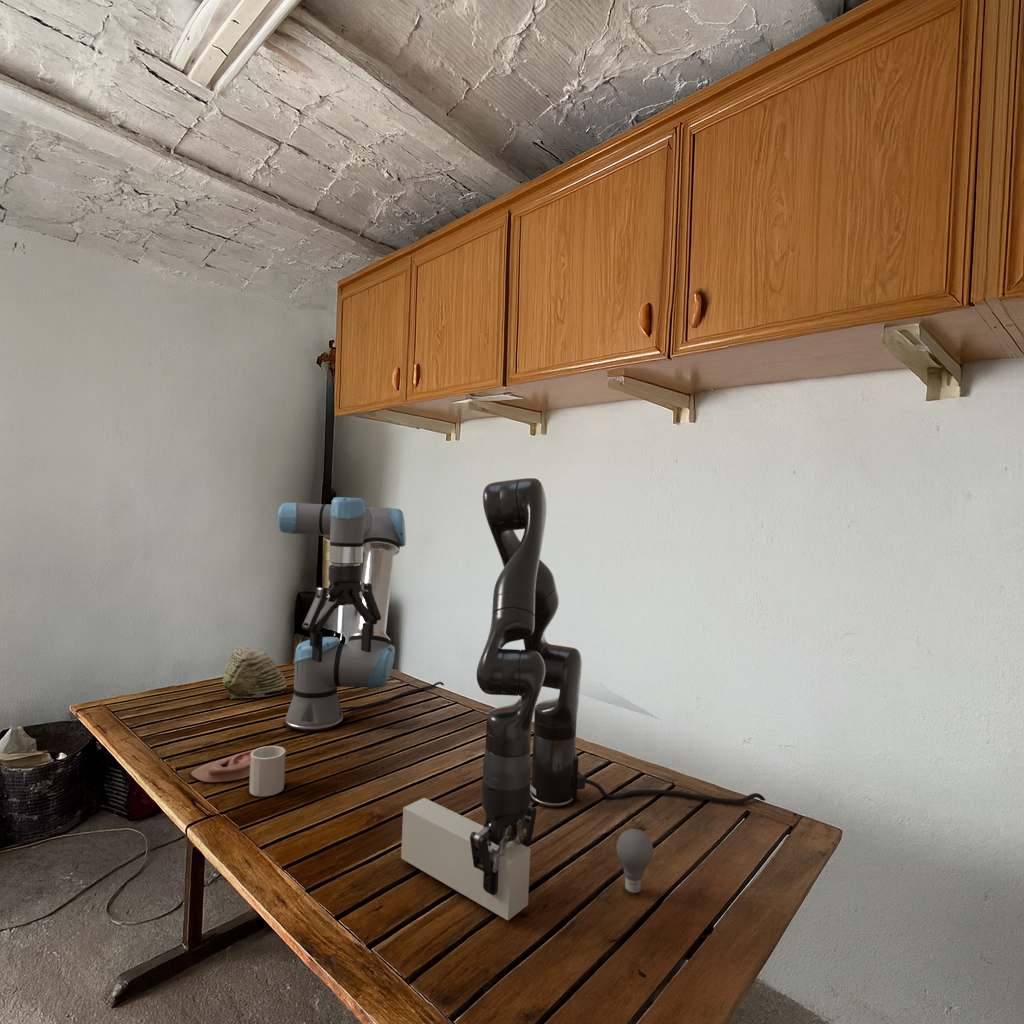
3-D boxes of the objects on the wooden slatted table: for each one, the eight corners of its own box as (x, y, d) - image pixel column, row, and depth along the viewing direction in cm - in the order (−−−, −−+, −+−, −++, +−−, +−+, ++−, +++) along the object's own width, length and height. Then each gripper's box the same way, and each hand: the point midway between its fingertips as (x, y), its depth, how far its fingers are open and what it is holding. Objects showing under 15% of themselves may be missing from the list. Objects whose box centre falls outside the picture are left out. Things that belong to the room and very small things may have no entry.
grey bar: (401, 858, 110) (403, 807, 110) (422, 846, 114) (424, 797, 114) (507, 920, 95) (510, 861, 95) (528, 905, 99) (530, 848, 99)
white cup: (272, 778, 141) (274, 743, 141) (290, 788, 137) (291, 752, 137) (242, 789, 136) (244, 752, 136) (260, 799, 131) (261, 761, 131)
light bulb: (610, 879, 108) (613, 822, 108) (644, 879, 109) (647, 822, 109) (619, 902, 102) (622, 840, 102) (655, 901, 103) (658, 840, 103)
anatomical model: (182, 760, 139) (216, 741, 150) (181, 778, 139) (216, 758, 150) (236, 768, 136) (267, 748, 147) (235, 786, 136) (266, 765, 147)
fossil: (218, 695, 195) (220, 647, 195) (278, 685, 208) (279, 640, 207) (228, 703, 189) (230, 653, 188) (289, 692, 201) (290, 645, 201)
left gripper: (377, 560, 158) (374, 644, 158) (287, 565, 139) (284, 661, 139) (398, 563, 153) (394, 650, 154) (307, 569, 134) (304, 668, 134)
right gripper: (516, 756, 107) (512, 856, 107) (457, 784, 96) (452, 895, 96) (552, 769, 102) (548, 873, 102) (495, 800, 91) (490, 917, 91)
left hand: (342, 656), depth 146 cm, fingers open, 13 cm apart
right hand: (502, 883), depth 99 cm, fingers closed on grey bar, 5 cm apart
